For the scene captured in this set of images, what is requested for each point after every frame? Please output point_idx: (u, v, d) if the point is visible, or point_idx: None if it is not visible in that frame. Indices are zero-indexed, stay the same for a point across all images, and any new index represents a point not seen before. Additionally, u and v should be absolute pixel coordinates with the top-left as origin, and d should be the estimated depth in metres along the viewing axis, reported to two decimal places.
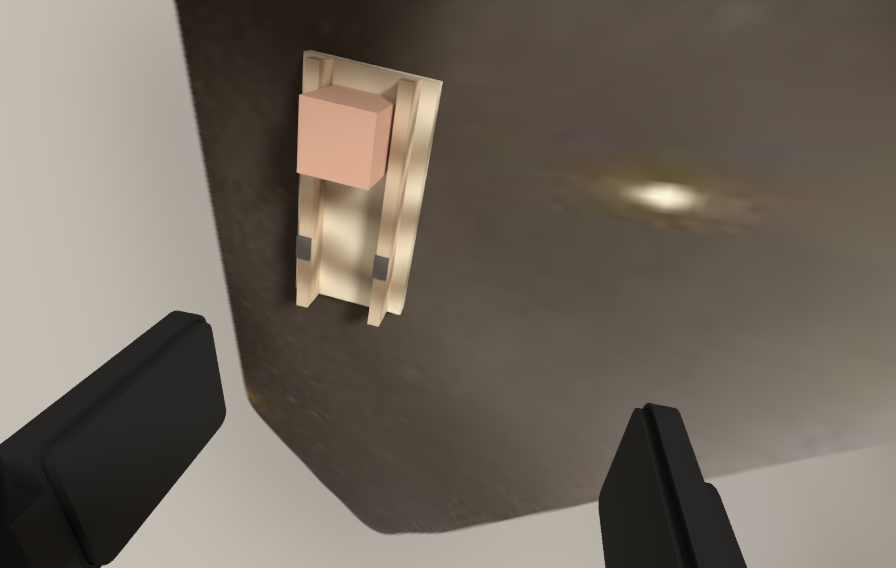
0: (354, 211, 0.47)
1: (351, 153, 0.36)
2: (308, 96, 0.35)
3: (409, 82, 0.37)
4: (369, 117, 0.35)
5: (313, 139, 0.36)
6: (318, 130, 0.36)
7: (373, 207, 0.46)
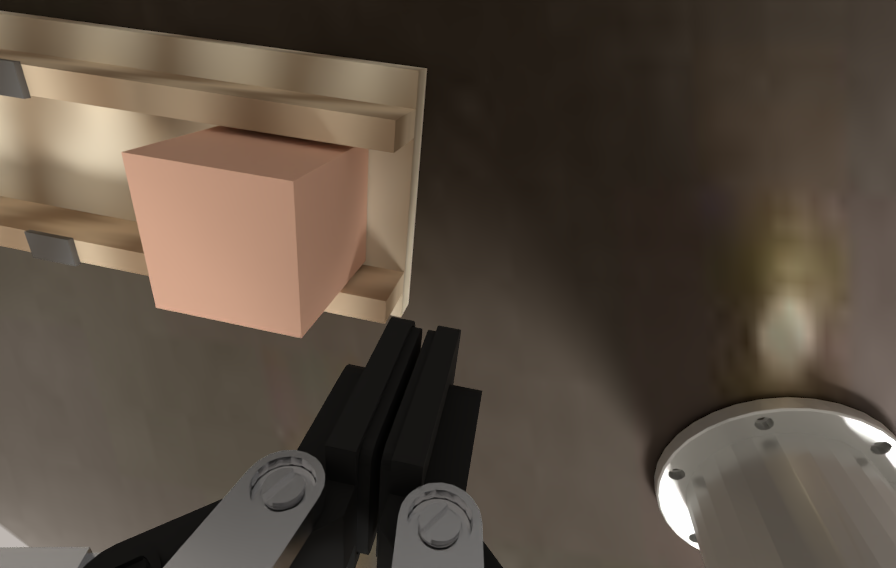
0: None
1: (213, 284, 0.17)
2: (296, 199, 0.15)
3: (384, 315, 0.22)
4: (290, 324, 0.17)
5: (210, 203, 0.16)
6: (231, 217, 0.16)
7: None
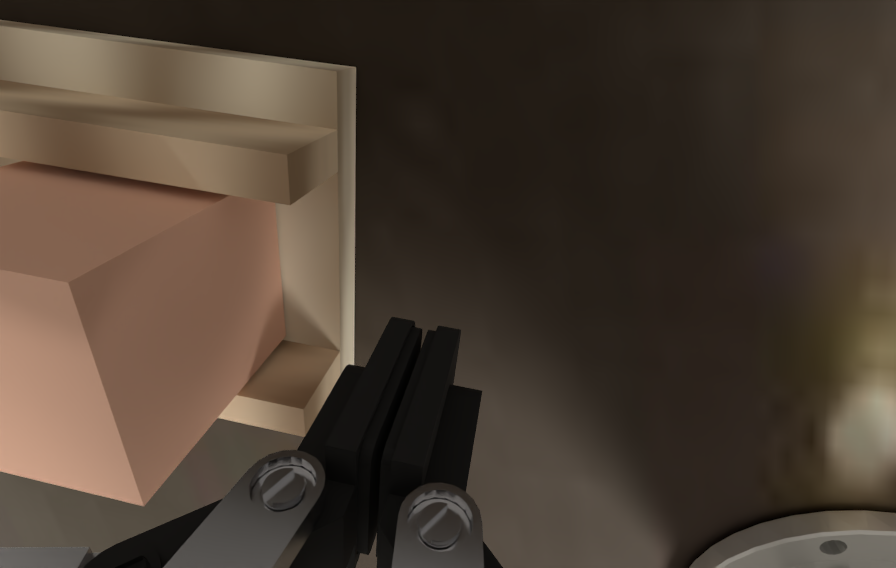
0: None
1: None
2: (86, 308, 0.08)
3: (304, 426, 0.15)
4: (122, 487, 0.11)
5: None
6: None
7: None
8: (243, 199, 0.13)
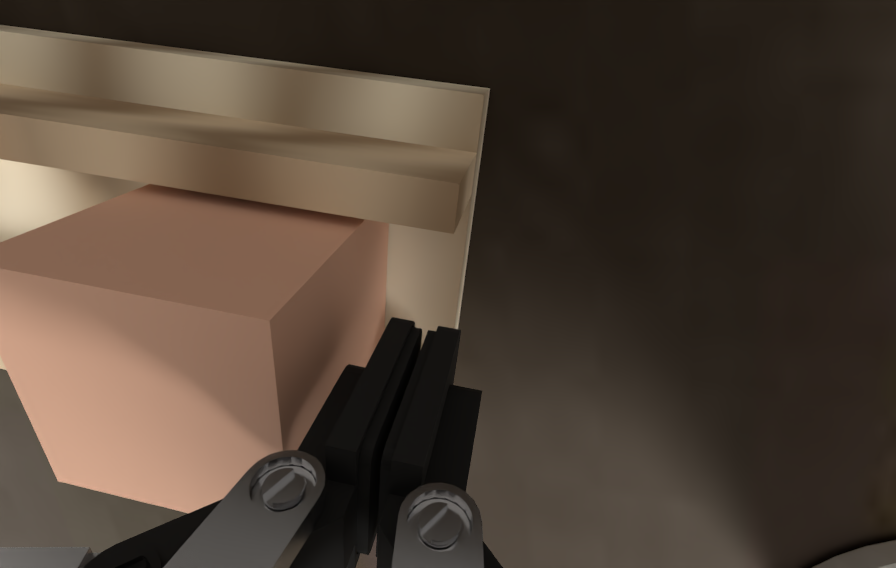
0: None
1: (143, 458, 0.10)
2: (277, 345, 0.08)
3: None
4: None
5: (123, 347, 0.09)
6: (162, 369, 0.09)
7: None
8: (372, 222, 0.13)
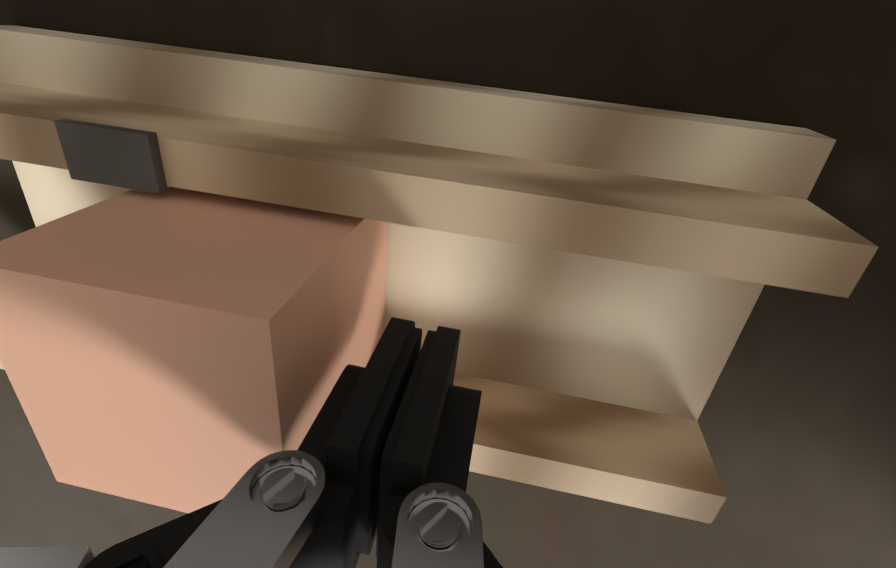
0: None
1: (141, 459, 0.10)
2: (276, 345, 0.08)
3: (713, 513, 0.14)
4: None
5: (122, 347, 0.09)
6: (160, 368, 0.09)
7: None
8: (371, 221, 0.13)
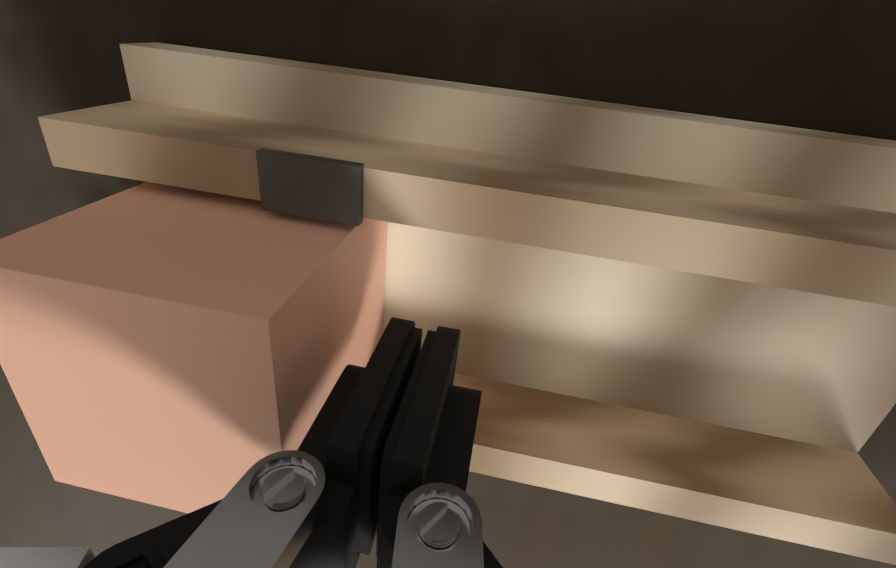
0: (467, 288, 0.15)
1: (140, 458, 0.10)
2: (275, 344, 0.08)
3: None
4: None
5: (120, 346, 0.09)
6: (160, 368, 0.09)
7: (487, 340, 0.16)
8: (371, 221, 0.13)
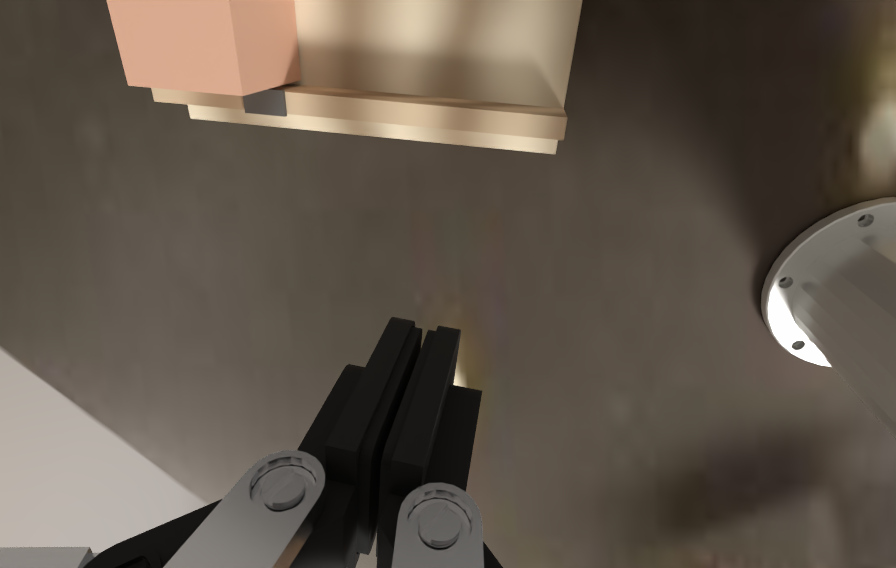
0: (341, 23, 0.27)
1: (170, 54, 0.22)
2: None
3: (563, 133, 0.26)
4: (233, 83, 0.23)
5: None
6: None
7: (357, 60, 0.28)
8: None
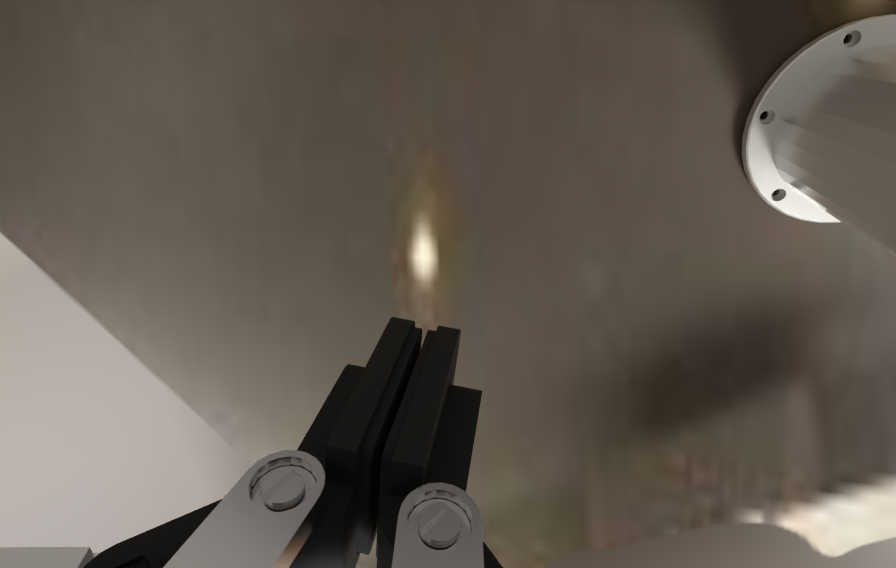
0: None
1: None
2: None
3: None
4: None
5: None
6: None
7: None
8: None
